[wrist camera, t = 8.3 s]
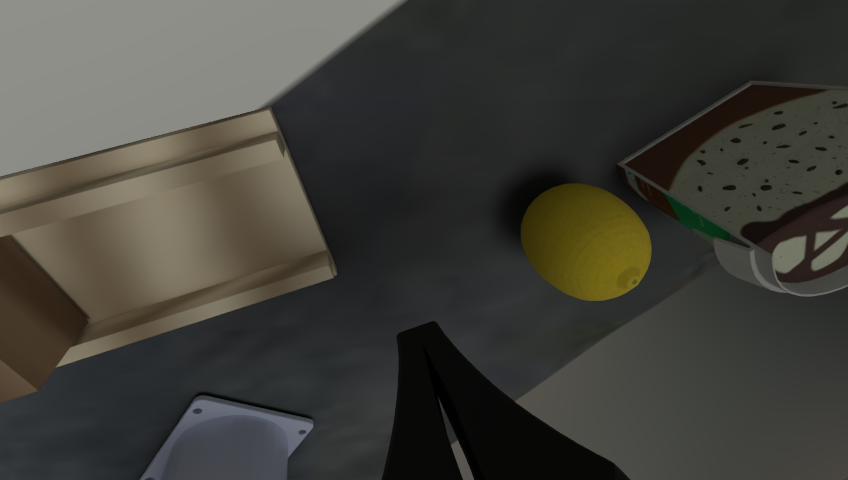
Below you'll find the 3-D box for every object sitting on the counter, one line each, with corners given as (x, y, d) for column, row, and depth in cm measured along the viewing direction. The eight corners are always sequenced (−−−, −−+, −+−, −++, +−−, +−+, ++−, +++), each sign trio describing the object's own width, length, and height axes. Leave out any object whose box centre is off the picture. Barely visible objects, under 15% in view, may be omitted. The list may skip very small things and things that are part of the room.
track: (270, 106, 16) (258, 134, 12) (336, 267, 21) (343, 326, 17) (-210, 231, 14) (-426, 317, 10) (-15, 379, 19) (-106, 479, 15)
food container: (614, 245, 26) (756, 348, 18) (595, 176, 23) (760, 264, 15) (768, 151, 26) (988, 211, 18) (772, 66, 23) (1047, 92, 14)
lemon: (590, 213, 24) (697, 284, 18) (519, 261, 25) (598, 349, 18) (563, 145, 21) (680, 200, 15) (482, 202, 22) (561, 281, 15)
